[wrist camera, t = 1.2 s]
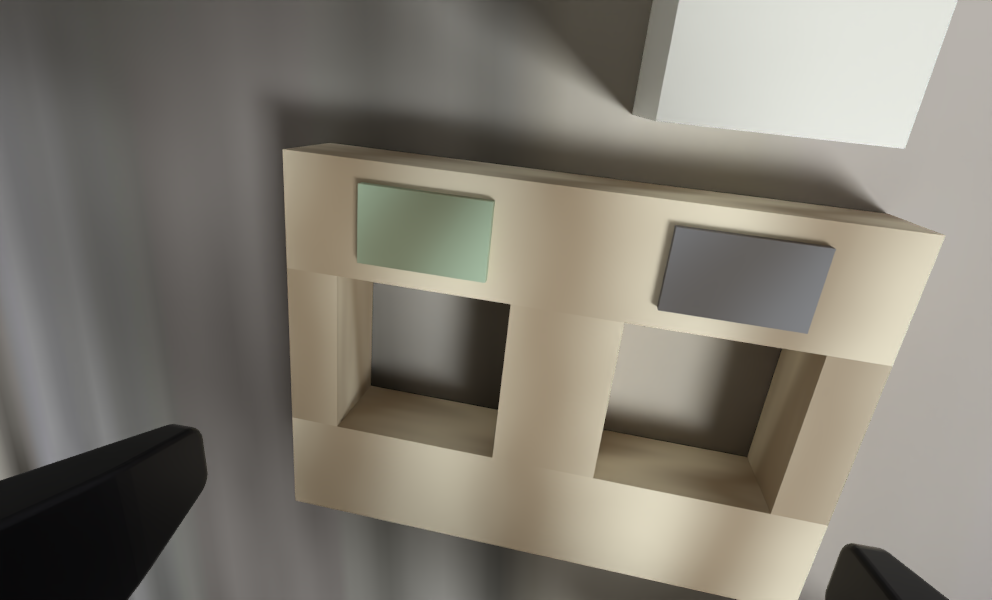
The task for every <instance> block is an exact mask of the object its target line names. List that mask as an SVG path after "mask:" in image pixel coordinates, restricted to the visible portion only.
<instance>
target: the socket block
mask: <svg viewBox="0 0 992 600" xmlns="http://www.w3.org/2000/svg"><path fill="white" fill-rule="evenodd" d="M283 174H284V201H285V229H286V256H287V284H288V311H289V339H290V366H291V394H292V421H293V449H294V476H295V500H296V501H300V502H305V503H309V504H314V505H318V506H323V507H327V508H332V509H336V510H341V511H345V512H350V513H354V514H358V515H363V516H367V517H372V518H376V519H381V520H385V521H390V522H394V523H399V524H403V525H407V526H412V527H416V528H421V529H425V530H430V531H434V532H439V533H443V534H448V535H452V536H457V537H461V538H465V539H470V540H474V541H479V542H483V543H488V544H492V545H497V546H501V547H506V548H510V549H514V550H519V551H523V552H528V553H532V554H537V555H541V556H546V557H550V558H555V559H559V560H564V561H568V562H572V563H577V564H581V565H586V566H590V567H595V568H599V569H604V570H608V571H613V572H617V573H621V574H626V575H630V576H635V577H639V578H644V579H648V580H653V581H657V582H662V583H666V584H670V585H675V586H679V587H684V588H688V589H693V590H697V591H702V592H706V593H711V594H715V595H720V596H724V597H728V598H733V599H737V600H798V598H799V596H800V593H801V591H802V588H803V586H804V583H805V581H806V578H807V576H808V573H809V571H810V568H811V566H812V564H813V561H814V559H815V556H816V554H817V551H818V549H819V546H820V544H821V541H822V539H823V536H824V534H825V532H826V529H827V527H828V524H829V522H830V519H831V517H832V514H833V512H834V509H835V507H836V504H837V502H838V499H839V497H840V495H841V492H842V490H843V487H844V485H845V482H846V480H847V477H848V475H849V472H850V470H851V467H852V465H853V462H854V460H855V458H856V455H857V453H858V450H859V448H860V445H861V443H862V440H863V438H864V435H865V433H866V430H867V428H868V426H869V423H870V421H871V418H872V416H873V413H874V411H875V408H876V406H877V403H878V401H879V398H880V396H881V393H882V391H883V389H884V386H885V384H886V381H887V379H888V376H889V374H890V371H891V369H892V366H893V364H894V361H895V359H896V356H897V354H898V352H899V349H900V347H901V344H902V342H903V339H904V337H905V334H906V332H907V329H908V327H909V324H910V322H911V320H912V317H913V315H914V312H915V310H916V307H917V305H918V302H919V300H920V297H921V295H922V292H923V290H924V287H925V285H926V283H927V280H928V278H929V275H930V273H931V270H932V268H933V265H934V263H935V260H936V258H937V255H938V253H939V250H940V248H941V246H942V243H943V241H944V238H945V235H943V234H940V233H937V232H935V231H932V230H929V229H927V228H924V227H921V226H919V225H916V224H913V223H911V222H908V221H906V220H903V219H900V218H898V217H895V216H892V215H890V214H886V213H878V212H871V211H863V210H855V209H847V208H839V207H831V206H823V205H815V204H808V203H800V202H792V201H784V200H776V199H768V198H760V197H752V196H745V195H737V194H729V193H721V192H713V191H705V190H697V189H689V188H682V187H674V186H666V185H658V184H650V183H642V182H634V181H626V180H619V179H611V178H603V177H595V176H587V175H579V174H571V173H563V172H556V171H548V170H540V169H532V168H524V167H516V166H508V165H500V164H493V163H485V162H477V161H469V160H461V159H453V158H445V157H437V156H430V155H422V154H414V153H406V152H398V151H390V150H382V149H374V148H367V147H359V146H351V145H343V144H335V143H325V144H317V145H310V146H303V147H295V148H288V149H283ZM373 282H376V283H382V284H388V285H394V286H401V287H407V288H413V289H419V290H425V291H431V292H438V293H444V294H450V295H456V296H462V297H468V298H475V299H481V300H487V301H493V302H499V303H505V304H511V307H510V315H509V324H508V332H507V340H506V349H505V357H504V365H503V374H502V382H501V390H500V399H499V407H498V410H496V409H491V408H486V407H480V406H475V405H470V404H464V403H459V402H454V401H449V400H443V399H438V398H433V397H428V396H422V395H417V394H412V393H406V392H401V391H396V390H391V389H385V388H380V387H375V386H371V354H372V310H373ZM624 323H629V324H635V325H641V326H647V327H653V328H659V329H666V330H672V331H678V332H684V333H690V334H696V335H703V336H709V337H715V338H721V339H727V340H733V341H740V342H746V343H752V344H758V345H764V346H770V347H777V348H782V350H781V353H780V357H779V360H778V363H777V366H776V369H775V372H774V375H773V378H772V382H771V385H770V388H769V391H768V394H767V397H766V400H765V403H764V407H763V410H762V413H761V416H760V419H759V422H758V425H757V428H756V431H755V435H754V438H753V441H752V444H751V447H750V450H749V453H748V456H747V457H744V456H739V455H733V454H728V453H723V452H718V451H712V450H707V449H702V448H696V447H691V446H686V445H681V444H675V443H670V442H665V441H660V440H654V439H649V438H644V437H638V436H633V435H628V434H623V433H617V432H612V431H607V430H603V427H604V422H605V417H606V412H607V407H608V402H609V397H610V392H611V387H612V382H613V377H614V373H615V368H616V363H617V358H618V353H619V348H620V343H621V338H622V333H623V328H624Z"/></svg>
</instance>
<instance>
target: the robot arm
mask: <svg viewBox="0 0 992 600" xmlns="http://www.w3.org/2000/svg"><path fill="white" fill-rule="evenodd" d="M206 480H207V466H206V459H205V452H204V445H203V438H202V434H201V433H200V431H199V430H198V429H196V428H194V427H188V426H182V425H176V424H170V425H166V426H163V427H160V428H157V429H154V430H151V431H148V432H145V433H142V434H139V435H136V436H133V437H130V438H127V439H124V440H121V441H118V442H115V443H112V444H109V445H106V446H103V447H100V448H97V449H94V450H91V451H88V452H85V453H82V454H79V455H76V456H73V457H70V458H67V459H64V460H61V461H58V462H55V463H52V464H49V465H46V466H43V467H40V468H37V469H34V470H31V471H28V472H25V473H22V474H19V475H16V476H13V477H10V478H7V479H4V480H1V481H0V600H128V599H129V597H130V596H131V595H132V593H133V592H134V591H135V589H136V588H137V587H138V586H139V584H140V583H141V581H142V580H143V578H144V577H145V576H146V574H147V573H148V571H149V570H150V569H151V567H152V566H153V564H154V563H155V561H156V560H157V558H158V557H159V555H160V554H161V552H162V551H163V549H164V548H165V546H166V545H167V543H168V542H169V540H170V539H171V537H172V536H173V534H174V533H175V531H176V530H177V528H178V527H179V525H180V524H181V522H182V521H183V519H184V518H185V516H186V515H187V513H188V512H189V510H190V509H191V507H192V506H193V504H194V503H195V501H196V500H197V498H198V497H199V495H200V494H201V492H202V490H203V488H204V486H205V484H206ZM825 600H949V599H948V598H946V597H945V596H944V595H942V594H941V593H940V592H939V591H937V590H936V589H935V588H933V587H932V586H931V585H930V584H928V583H927V582H926V581H924V580H923V579H922V578H921V577H919V576H918V575H917V574H915V573H914V572H913V571H912V570H910V569H909V568H908V567H906V566H905V565H904V564H903V563H901V562H900V561H899V560H897V559H896V558H895V557H894V556H892V555H891V554H890V553H888V552H887V551H885V550H883V549H880V548H876V547H871V546H865V545H859V544H854V543H851V544H847V545H845V546H844V547H843V548H842V550H841V552H840V554H839V557H838V560H837V562H836V565H835V568H834V570H833V573H832V576H831V578H830V581H829V584H828V586H827V589H826V594H825Z"/></svg>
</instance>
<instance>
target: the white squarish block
mask: <svg viewBox="0 0 992 600" xmlns="http://www.w3.org/2000/svg"><path fill="white" fill-rule="evenodd" d="M957 1H958V0H653V2H652V7H651V13H650V18H649V24H648V29H647V35H646V40H645V46H644V51H643V57H642V63H641V68H640V74H639V79H638V85H637V90H636V96H635V101H634V107H633V112H632V115H636V116H639V117H643V118H646V119H650V120H654V121H660V122H669V123H678V124H687V125H696V126H705V127H714V128H722V129H731V130H740V131H749V132H758V133H767V134H776V135H785V136H794V137H803V138H812V139H821V140H830V141H839V142H848V143H857V144H866V145H875V146H884V147H893V148H902V149H905V147H906V144H907V141H908V138H909V135H910V133H911V130H912V127H913V124H914V121H915V119H916V116H917V113H918V110H919V107H920V105H921V102H922V99H923V96H924V93H925V91H926V88H927V85H928V82H929V79H930V77H931V74H932V71H933V68H934V65H935V63H936V60H937V57H938V54H939V51H940V49H941V46H942V43H943V40H944V37H945V35H946V32H947V29H948V26H949V23H950V21H951V18H952V15H953V12H954V9H955V7H956V4H957Z"/></svg>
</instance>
